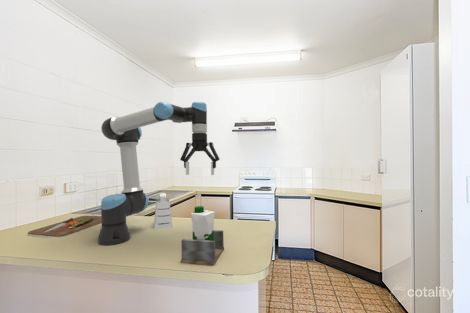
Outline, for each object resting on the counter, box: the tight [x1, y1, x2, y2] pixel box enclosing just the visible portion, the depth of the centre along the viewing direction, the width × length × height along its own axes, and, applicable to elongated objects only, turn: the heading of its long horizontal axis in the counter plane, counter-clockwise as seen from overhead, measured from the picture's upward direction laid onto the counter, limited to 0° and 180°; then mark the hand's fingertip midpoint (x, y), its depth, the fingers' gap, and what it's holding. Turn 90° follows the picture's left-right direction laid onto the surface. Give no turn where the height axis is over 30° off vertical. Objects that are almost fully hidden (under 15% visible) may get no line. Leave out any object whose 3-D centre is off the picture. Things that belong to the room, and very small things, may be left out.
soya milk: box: [190, 205, 216, 241], centre depth 106 cm, size 9×9×20 cm
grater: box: [153, 192, 174, 230], centre depth 153 cm, size 10×10×20 cm
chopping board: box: [27, 215, 102, 239], centre depth 157 cm, size 45×27×3 cm, turn 166°
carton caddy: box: [180, 229, 225, 267], centre depth 107 cm, size 14×17×9 cm
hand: (199, 174), depth 124 cm, fingers open, 13 cm apart
